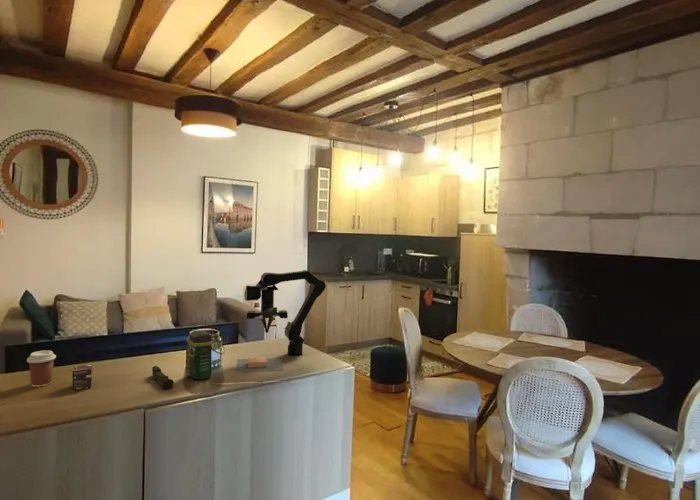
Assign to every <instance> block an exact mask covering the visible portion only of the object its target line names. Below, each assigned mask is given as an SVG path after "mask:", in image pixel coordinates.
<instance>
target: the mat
mask: <svg viewBox="0 0 700 500" xmlns="http://www.w3.org/2000/svg"><path fill="white" fill-rule="evenodd" d="M266 360H267V366H266V367H252V368H248V358H239V359H237V361H236V369H235V373H260V372H264V373H265V372H284V364H283V358H282V357H268V358H267V357H266Z"/></svg>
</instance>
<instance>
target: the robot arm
mask: <svg viewBox="0 0 700 500" xmlns="http://www.w3.org/2000/svg"><path fill="white" fill-rule="evenodd" d="M298 280H299V281H300V280H305V281H306V282H307V283H308V284H309V286H308V290H307V291H308V294H307V295H306V297H305V298H304V299H305V300H304V301H303V302H302V304H301V307H300V308H299V310H298V312H297V314H296V316H295V317H294V319H293V321H291V322H290V321H288V322H287V324H286V326H285V327H284V336H285V337H286V338H287V339H288V344H287V355H289V357H299V356H301V357H302V356H304V355H303V344H304V342H305V339H304V338H303V337H302V336H301V333H302V329H303V324H304V323H305V321H306V318H307V317H308V316H309V314H310V311H311V309H312V308H313V306H314V303H315V302H316V301H317V299H318V298H319V297H320V296H321V295H322V294H323V293H324V291H325V290H326V287H327V285H326V282H325V281H323V280H321V279H318V278H317V277H316V276H314V275H313V274H312V273H311V272H310V271H309V270H306V269H305V270H298V271H291V272H282V273H277V272H263V273H262V274H261V276H260V279H259V281H258V282H257V284H256V285H246V286H245V290H244V300H245V301H247V302H248V301H259V299H260V300H261V302H260V303H261V305H260V307H261V308H260V312H256V310H247V311H246V320H253V319H255V318H257V317H258V319H259V320H258V321H261V322H262V325H263V326H264V327H263V328H264V331H265V333H266V334H267V333H269V330H270V327H271V324H272V323H273V321H275V320H276V317H279V318H280V319H288V318H289V317H288V310H286V309H284V310H283V309H281V310H278V307H277V306H275V307H274V305H275V299H274V298H275V294H274V293H275V291H279V288H278V287H277V286H276V285H277V284H280V283H284V282H290V281H298ZM267 319H268V320H267Z"/></svg>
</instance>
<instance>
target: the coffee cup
mask: <svg viewBox="0 0 700 500" xmlns="http://www.w3.org/2000/svg"><path fill="white" fill-rule="evenodd" d="M55 359H57V354H54V351H52V350H48V349H47V350H39V351H38V350H37V351H33V352H31V353H30V355H29V356H28V357H27V358H26V363H28V365H29V376H30V383H31V384H33V385H43V384H48V383H50V382H52V383H53V374H54V373H53V372H54V365H55V364H54V361H55Z"/></svg>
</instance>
